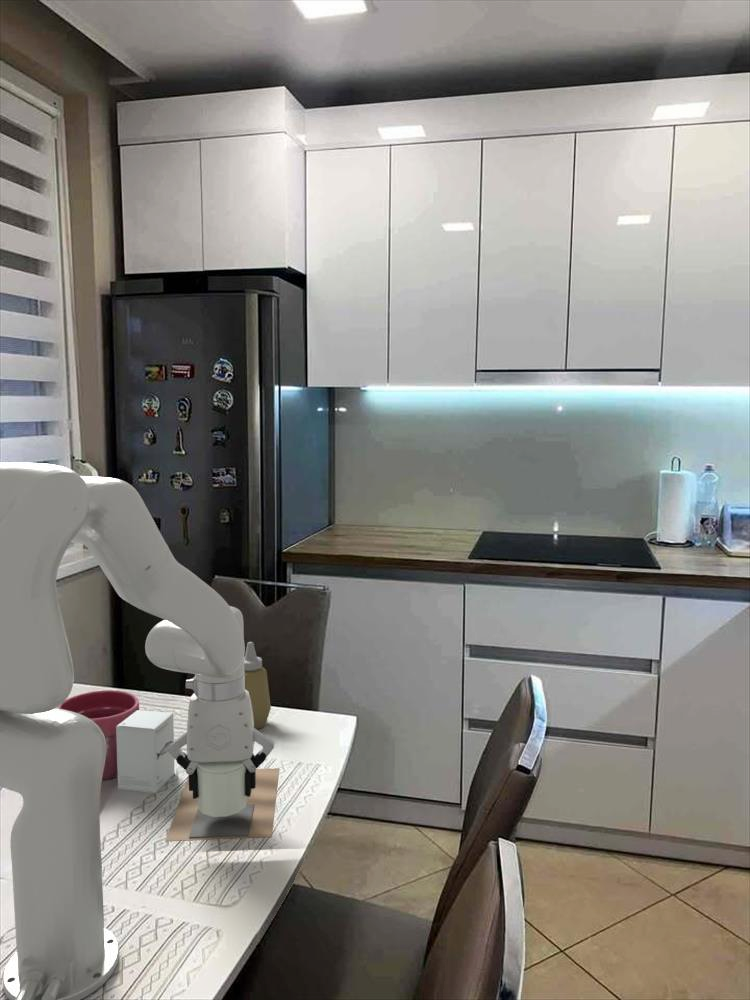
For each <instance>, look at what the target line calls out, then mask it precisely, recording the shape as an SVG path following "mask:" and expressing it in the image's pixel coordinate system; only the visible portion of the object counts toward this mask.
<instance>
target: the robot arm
mask: <svg viewBox="0 0 750 1000" xmlns="http://www.w3.org/2000/svg"><path fill="white" fill-rule="evenodd" d="M71 543H73V544H81V545H84V546H85V547H86V548H87V549H88V550H89V552H90V554H91V555H92V556H93V558H94V559H95V561H96V562H97V564H98V566H99V567H100V569H101V570H102V572H103V573H104V575H105V577H106V578H107V580H108V581H109V582H110V584H111V586H112V587H113V589H114V591H115V592H116V594H117V595H118V597H120V598H121V599H122V600H123V601H125V602H126V603H129V604H130V605H132V606H134V608H135V607H136V608H137V609H139V610H141V611H142V612H145V613H147V614H149V615H151V616H155V617H158V618H160V619H162V620H161V621H159V622H158V623H157V624H155V625H154V626H153V627H152V628H151V630H150V631H149V632H148V634H147V636H146V640H145V645H144V649H145V655H146V656H147V659H148V661H150V662H151V663H152V664H153V665H154V666H156V667H158V668H160V669H163V670H167V671H173V672H179V673H184V674H193V675H194V676H193V678H190V679H186V680H185V689H190V690H192V691H193V693H192V695H191V696H190V699H189V703H188V710H187V711H188V712H187V721H186V724H187V725H186V732H185V733H183V734H181V736H179V737H178V738H177V739H174V742H173V743H171V744H170V745H169V748H168V752H169V753H170V754H171V755H172V756H173V758H174V760H175V761H176V763H177V764H178V765H179V766H180V767H181V768H182V769H184V770H185V773H186V774H187V775H188V776H189V791H193V799H197V798H198V778H197V766H198V764H199V763H209V762H237V761H243V762H244V764H245V766H246V767H247V769H246V773H245V790H246V796H247V797H250V795H251V790H252V789H255V787H256V769H259V767H260V766H261V765H262V764H263V763H264V762H265V761H266V759H267V757H268V756H269V755H270V753H272V751H273V750H274V748H275V743H276V742H275V741H274V740H273V739H271V738H269V736H267V735H266V734H264V733H262V732H261V731H259V729H255V728H254V720H253V711H252V705H251V700H250V695H249V692H248V691H247V690H245V676H244V657H245V653H246V650H245V649H246V646H245V639H244V637H245V635H244V633H245V632H244V631H245V630H244V615H243V613H242V611H241V610H240V609H239V608H237V607H235V606H231V605H229V604H228V603H227V601H226V600H225V599H224V597H222V596H221V595H220V594H219V593H218V591H216V590H215V589H214V588H212V587H211V586H210V585H209V584H208V583H206V582H205V581H203V580H202V579H201V578H200V577H198V576H197V575H196V574H195V573H193V572H192V571H191V570H190V569H189V568H187V567H185V566H184V565H182V564H181V563H179V562H178V560H177V559H176V558H175V557H174V554H173V553H172V551H171V549H170V547H169V545H168V544H167V542H166V540H165V539H164V537H163V535H162V533H161V531H160V529H159V528H158V526H157V524H156V522H155V520H154V518H153V517H152V514H151V513H150V511H149V509H148V507H147V506H146V503H145V501H144V500H143V498H142V497H141V495H140V493H139V492H138V491H137V489H136V488H135V487H134V486H133V485H132V484H130V483H128V482H127V481H125V480H122V479H119V478H115V477H114V478H113V477H104V476H86V475H81V474H79V473H78V472H76V471H75V470H73V469H70V468H68V467H65V466H62V465H57V464H52V463H51V464H50V463H43V462H41V463H40V462H39V463H38V462H7V461H6V462H5V461H3V462H2V461H0V788H2V789H3V788H4V789H6V790H9V791H12V792H15V793H18V794H19V795H20V796H21V797H22V801H23V803H22V805H21V809H20V811H19V813H18V815H17V816H16V818H15V820H14V823H13V824H12V825H13V826H12V829H11V832H10V833H11V834H10V857H11V869H12V870H11V874H12V890H13V892H12V893H13V907H14V908H13V909H14V926H15V944H16V945H15V946H16V948H15V949H16V952H15V953H14V954H13V955H12V956H11V958H10V959H9V961H8V962H7V964H6V966H5V968H4V971H3V977H2V978H3V979H2V985H3V992H4V994H5V996H6V998H7V999H8V1000H82V999H84V998H86V997H88V996H89V995H91V994H93V993H94V992H96V991H97V990H98V989H99V988H100V987H102V986H104V984H105V983H106V982H107V980H109V978H111V976H112V975H113V974H114V971H115V970H116V968H117V965H118V963H119V957H120V949H119V948H120V947H119V942H118V940H117V937H116V936H115V935H114V934H113V933H112V932H111V930H108V929H107V928H105V915H104V891H103V868H102V867H103V865H102V842H101V841H102V840H101V819H100V818H101V813H100V809H101V808H100V805H101V789H102V782H103V781H102V776H103V771H104V765H105V759H106V740H105V737H104V734H103V732H102V730H101V729H100V728H99V726H98V725H97V724H96V723H95V722H94V721H92V720H91V719H89V718H87V717H85V716H83V715H81V714H78V713H75V712H72V711H68V710H64V709H59V708H57V707H58V706H60V705H61V704H62V703H63V702H64V701H65V700H66V699H68V697H69V696H70V694H71V692H72V690H73V687H74V682H75V681H74V680H75V673H74V672H75V670H74V662H73V658H72V653H71V648H70V644H69V640H68V637H67V633H66V628H65V627H66V626H65V624H64V619H63V615H62V611H61V610H62V609H61V606H60V602H59V595H58V590H57V589H58V588H57V577H58V571H59V567H60V564H61V563H62V559H63V557H64V555H65V553H66V552H67V550H68V548H69V546H70V544H71ZM255 742H256V743H257V744H258V745H260V746H262V748H261V749H260V750H259V751H258V752H257V753H256V754H254V749H255V748H254V747H255ZM185 746H186V753H185V752H183V750H182V748H183V747H185Z"/></svg>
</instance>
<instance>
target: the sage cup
mask: <svg viewBox="0 0 750 1000" xmlns="http://www.w3.org/2000/svg"><path fill="white" fill-rule="evenodd" d="M246 769H247V767H246V766H245V764H244V762H243V761H237V762H209V763H199V764H198V766H197V778H198V808H199V810H200V811H201V812H202V813H203V814H205V815H209V816H212V817H223V816H229V815H232V814H235V813H238V812H240V811H241V810H242V809H244V808H245V807H246V806H247V800H248V797H247V796H246V790H245V773H246Z"/></svg>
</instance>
